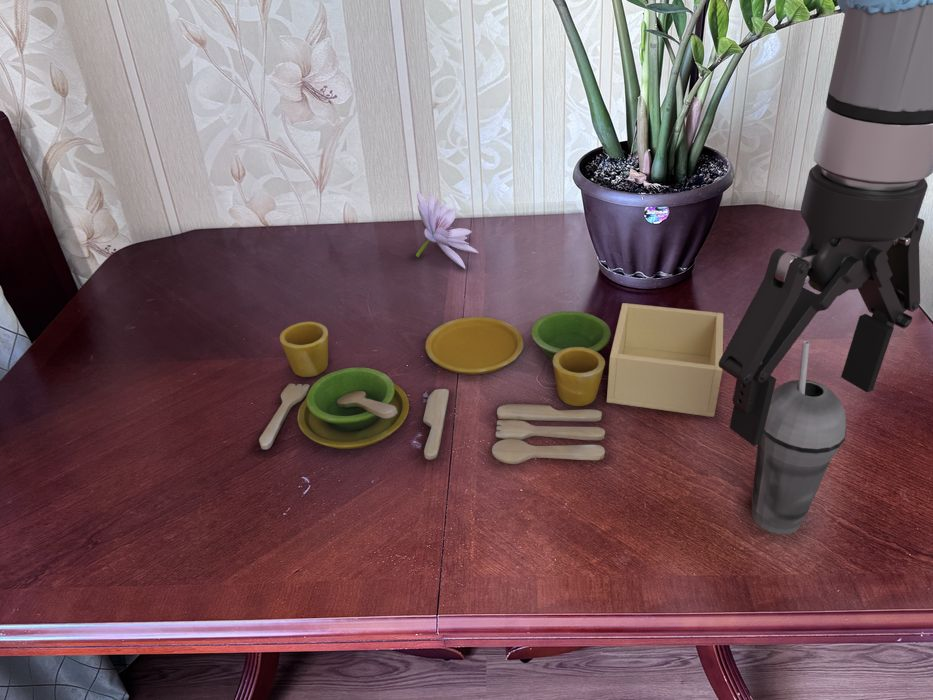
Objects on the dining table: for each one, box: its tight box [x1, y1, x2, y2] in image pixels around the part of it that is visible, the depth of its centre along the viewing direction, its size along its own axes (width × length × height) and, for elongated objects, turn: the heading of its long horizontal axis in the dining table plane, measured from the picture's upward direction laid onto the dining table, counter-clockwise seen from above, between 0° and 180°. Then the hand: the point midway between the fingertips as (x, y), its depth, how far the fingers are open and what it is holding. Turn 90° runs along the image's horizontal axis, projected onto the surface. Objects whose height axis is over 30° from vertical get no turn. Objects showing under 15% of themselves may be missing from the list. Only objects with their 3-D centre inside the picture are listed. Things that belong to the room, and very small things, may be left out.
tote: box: [606, 302, 724, 418], centre depth 87 cm, size 12×12×7 cm
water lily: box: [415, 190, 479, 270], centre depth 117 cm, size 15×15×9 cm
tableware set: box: [258, 310, 612, 465], centre depth 89 cm, size 41×28×6 cm
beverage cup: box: [750, 340, 847, 535], centre depth 65 cm, size 7×7×20 cm
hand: (802, 408), depth 63 cm, fingers open, 13 cm apart
